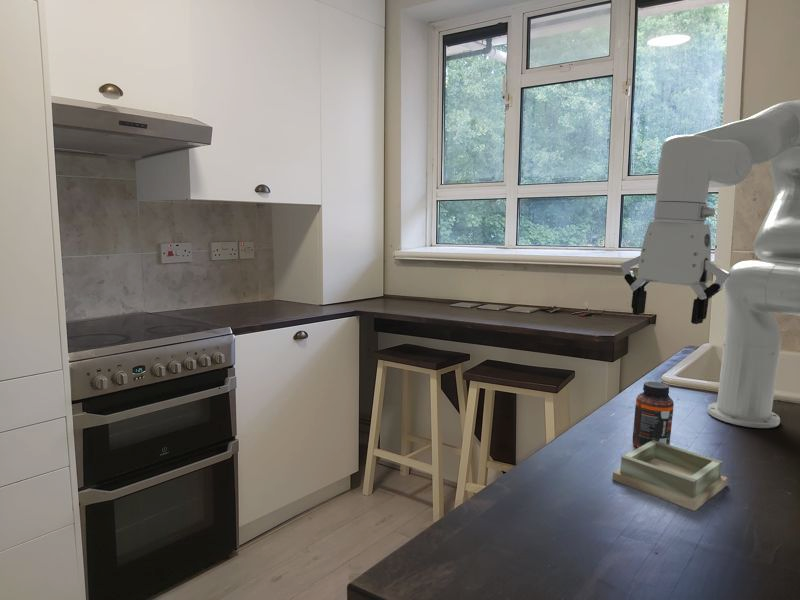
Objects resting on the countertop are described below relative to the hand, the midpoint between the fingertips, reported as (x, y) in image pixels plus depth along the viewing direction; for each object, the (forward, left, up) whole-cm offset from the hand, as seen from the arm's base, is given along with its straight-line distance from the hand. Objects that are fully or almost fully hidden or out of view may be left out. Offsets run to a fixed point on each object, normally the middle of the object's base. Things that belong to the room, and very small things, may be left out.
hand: (666, 318), depth 97 cm
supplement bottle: (0, -1, -23) cm, 23 cm away
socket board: (+11, +7, -23) cm, 26 cm away
